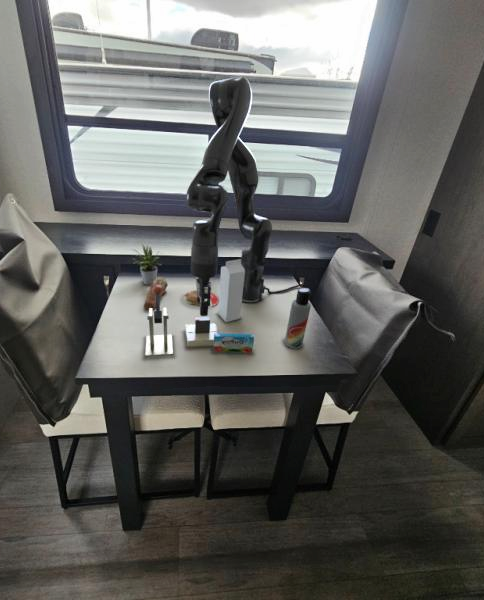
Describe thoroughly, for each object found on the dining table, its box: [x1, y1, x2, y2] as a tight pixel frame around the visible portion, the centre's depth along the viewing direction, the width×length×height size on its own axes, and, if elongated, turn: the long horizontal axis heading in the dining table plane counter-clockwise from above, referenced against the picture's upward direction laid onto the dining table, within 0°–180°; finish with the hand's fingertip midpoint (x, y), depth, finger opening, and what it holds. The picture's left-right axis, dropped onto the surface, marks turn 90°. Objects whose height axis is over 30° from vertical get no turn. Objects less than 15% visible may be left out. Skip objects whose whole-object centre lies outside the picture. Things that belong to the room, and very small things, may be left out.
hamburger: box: [183, 289, 219, 307], centre depth 123 cm, size 14×14×6 cm
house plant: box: [131, 243, 163, 286], centre depth 132 cm, size 14×14×16 cm
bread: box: [143, 276, 168, 311], centre depth 121 cm, size 6×19×6 cm, turn 175°
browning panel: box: [184, 322, 219, 347], centre depth 101 cm, size 10×9×3 cm
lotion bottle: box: [284, 287, 312, 349], centre depth 98 cm, size 6×6×20 cm
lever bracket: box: [144, 307, 174, 357], centre depth 94 cm, size 10×8×13 cm
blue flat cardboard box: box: [212, 333, 255, 354], centre depth 96 cm, size 12×2×6 cm, turn 93°
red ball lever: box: [152, 285, 163, 324], centre depth 95 cm, size 13×3×3 cm, turn 10°
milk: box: [217, 258, 245, 323], centre depth 110 cm, size 6×6×22 cm
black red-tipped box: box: [194, 316, 211, 334], centre depth 99 cm, size 5×2×5 cm, turn 100°
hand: (202, 308), depth 96 cm, fingers open, 8 cm apart
